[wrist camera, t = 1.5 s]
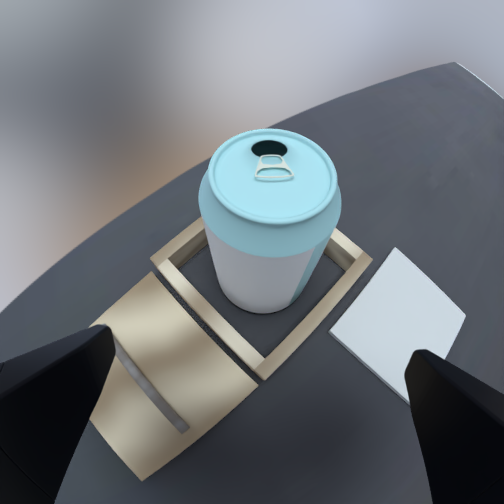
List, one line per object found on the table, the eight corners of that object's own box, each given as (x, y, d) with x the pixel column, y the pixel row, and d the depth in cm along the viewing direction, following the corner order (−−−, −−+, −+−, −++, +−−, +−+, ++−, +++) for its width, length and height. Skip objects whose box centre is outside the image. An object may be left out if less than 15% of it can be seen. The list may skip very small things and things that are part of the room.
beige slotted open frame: (361, 272, 23) (372, 259, 21) (145, 478, 15) (133, 487, 13) (260, 188, 27) (261, 171, 24) (58, 362, 19) (41, 358, 16)
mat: (462, 317, 21) (465, 315, 20) (411, 406, 18) (415, 407, 17) (392, 250, 24) (394, 246, 23) (327, 332, 21) (329, 330, 20)
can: (200, 268, 23) (164, 163, 12) (265, 220, 25) (275, 105, 14) (257, 334, 21) (268, 273, 10) (323, 276, 23) (379, 179, 12)
